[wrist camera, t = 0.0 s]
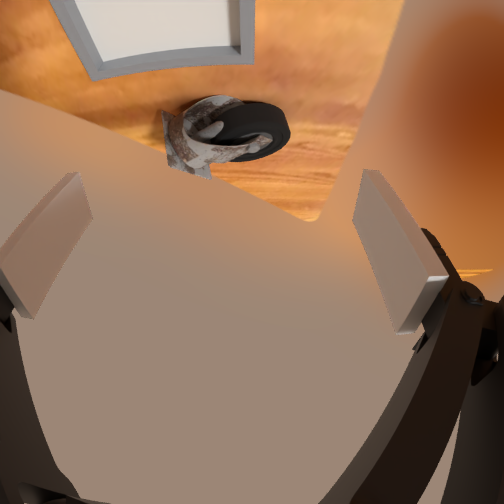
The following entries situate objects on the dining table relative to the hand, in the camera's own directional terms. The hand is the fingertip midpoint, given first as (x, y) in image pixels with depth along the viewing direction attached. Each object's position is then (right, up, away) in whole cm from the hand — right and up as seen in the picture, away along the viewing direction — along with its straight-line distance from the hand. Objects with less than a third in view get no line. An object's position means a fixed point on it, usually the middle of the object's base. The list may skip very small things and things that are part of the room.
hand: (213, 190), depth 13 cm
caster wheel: (0, +12, +16) cm, 20 cm away
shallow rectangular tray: (-5, +16, 0) cm, 17 cm away
